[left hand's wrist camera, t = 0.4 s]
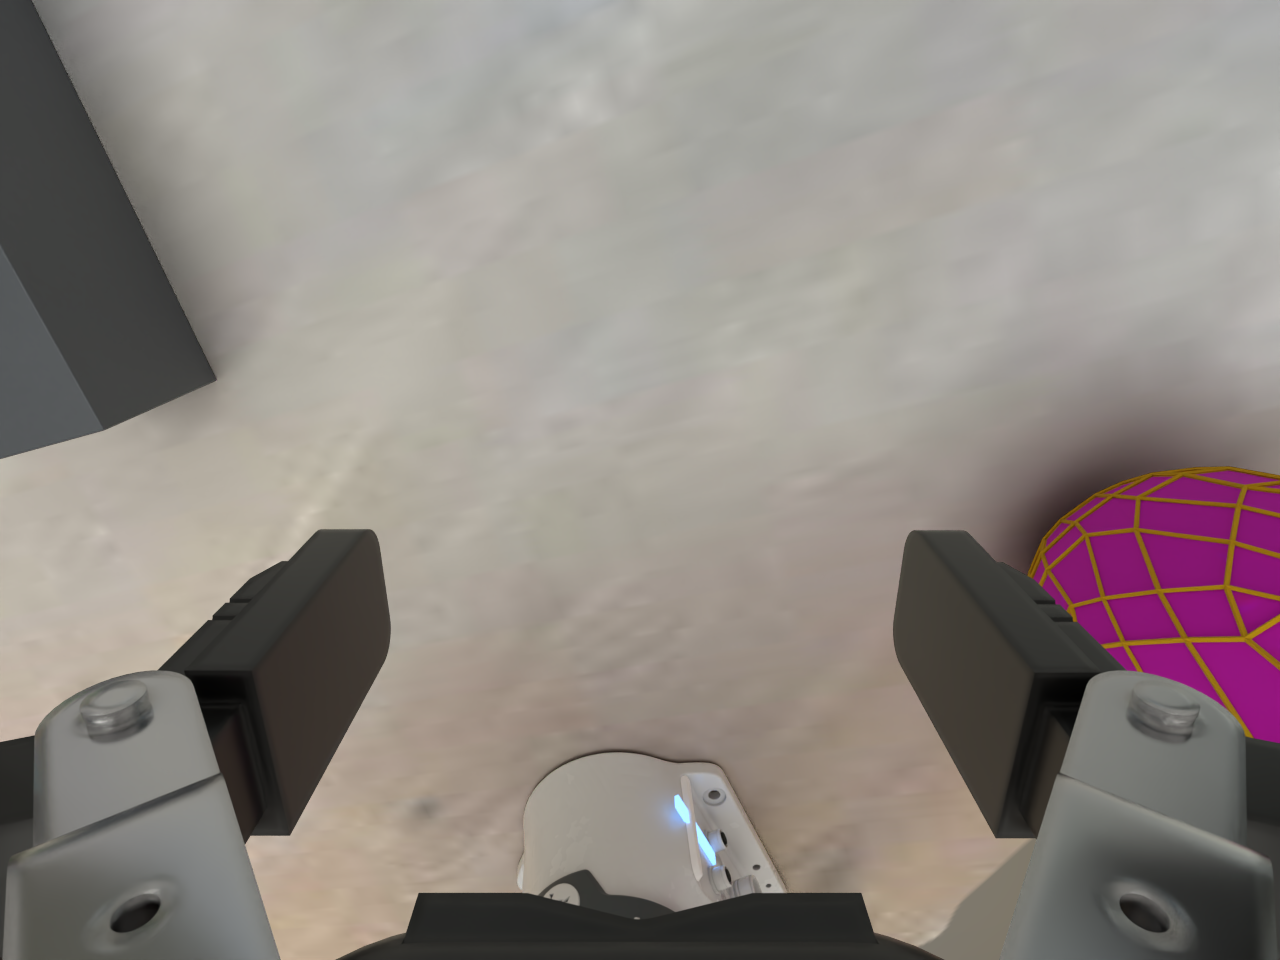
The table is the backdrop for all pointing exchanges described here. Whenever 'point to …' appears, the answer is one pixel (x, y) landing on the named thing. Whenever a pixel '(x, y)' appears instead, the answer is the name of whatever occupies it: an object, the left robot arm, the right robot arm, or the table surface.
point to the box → (73, 266)
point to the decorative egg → (1180, 582)
